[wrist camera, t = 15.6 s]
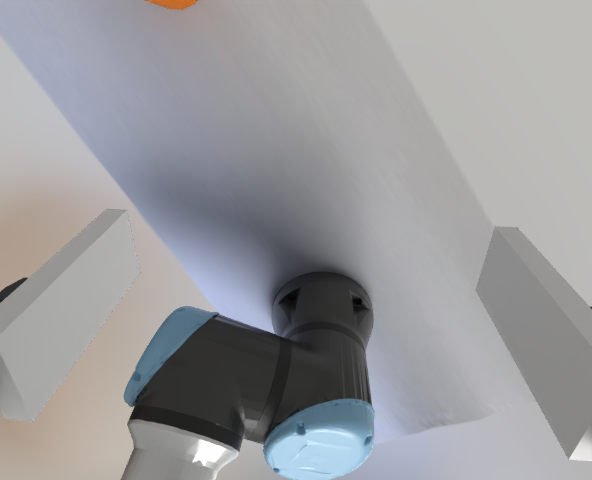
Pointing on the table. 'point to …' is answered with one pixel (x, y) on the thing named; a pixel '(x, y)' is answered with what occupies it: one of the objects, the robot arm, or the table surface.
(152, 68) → the table surface
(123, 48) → the table surface
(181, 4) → the spray bottle
